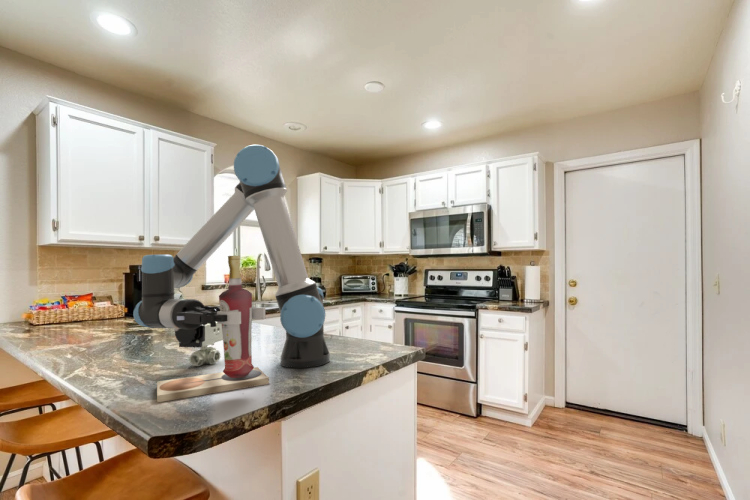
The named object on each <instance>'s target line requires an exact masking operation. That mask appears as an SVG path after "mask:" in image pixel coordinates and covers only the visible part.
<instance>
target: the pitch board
mask: <svg viewBox="0 0 750 500" xmlns="http://www.w3.org/2000/svg"><path fill="white" fill-rule="evenodd" d="M156 384H157V385H156V396H157V397H156V402H157V403H162V402H167V401H169V402H170V401H172V400H173V401H174V400H179V399H180V400H181V399H185V398H191V397H198V396H203V395H208V394H209V395H210V394H215V393H222V392H227V391H232V390H239V389H245V388H251V387H256V386H264V385H268V384H270V377H269V376H268V375H267V374H266V373H265V372H264V371H262V369H261V368H259V366H254V368H253V369H252V371H251V372H250V373H249V374H248V375H246V376H243V377H239V378H230V377H229V376H227V375H226V374H225V373H224V372H223V371H221V372H214V373H208V374H207V373H206V374H200V375H193V376H187V377H180V378H172V379H166V380H160V381H158V380H157V382H156Z"/></svg>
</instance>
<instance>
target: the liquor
mask: <svg viewBox="0 0 750 500" xmlns="http://www.w3.org/2000/svg"><path fill="white" fill-rule="evenodd" d="M227 263H228V269H229V273H228V274H229V275H228V276H229V277H228V289H226V290H223V291H222V292H221V293H220V294H219V295H218V299H219V300H218V301H219V302H218V303H219V306H220V311H230V312H241V324H221V325H222V334H223V340H222V343H223V344H222V347H223V358H224V359H223V362H224V368H223V371H222V372H224V373H225V374H226V375H227V376H229V377H230V378H239V377H243V376H246V375H248V374H249V373H250V372H251V371H252V369H253V368H254V367H255V366H254V365H253V362H252V360H253V359H252V357H253V356H252V324H253V323H252V321H253V319H252V308H253V306H252V305H253V293H252V292H251V291H249V290H248V289H245V288H244V287H243V285H242V277H241V270H240V266H241V255H228V256H227Z"/></svg>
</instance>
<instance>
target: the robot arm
mask: <svg viewBox="0 0 750 500" xmlns="http://www.w3.org/2000/svg"><path fill="white" fill-rule="evenodd" d="M280 166H281V165H280V161H279V158H278V156H277V155H276V154H275V152H274V151H273V150H271V149H270V148H268V147H267V146H265V145H262V144H251V145H247V146H245V147H243V148H242V149H240V150H239V151H238V152H237V153H236V156H235V157H234V161H233V171H234V175H235V177H236V178H237V180H239V183H238V184H236V186H235V187H234V193H233V194H232V195H230V197H229V198H228V199H227V200H226V202H225V203H224V204H222V206H221V207H220V208H219V209H218V210H217V211H216V212H215V213H214V214H213V215H212V217H210V218H209V219H208V221H206V222H205V223H204V225H203V226H201V228H200V229H199V230H198V231H197V232H196V233H195V234H194V235H193V236H192V237H191V238H190V239H189V240H188V241H187V242H186V244H184V245H183V247H182V248H181V249H180V250H179V251H178V252H177V253H176V254H175V256H173V255H172V254H146V255H143V257H142V259H141V268H140V271H141V300H140V301H139V302H138V303H137V304H136V305H135V307H134V309H133V312H132V313H133V314H132V315H133V319H134V321H135V323H137V324H138V325H139V326H141V327H143V328H144V327H146V328H150V329H173V330H174V332H175V331H178V329H190V330H192V329H196V328H198V327H199V326H200V325H206V324H207V323H210V327H216V322H217V324H241V312H230V311H220V305H219V306H211V305H204V303H203V302H202V301H200V300H199V299H193V298H191V299H190V298H189V299H188V298H187V299H186V298H175V289H180V288H183V287H185V286H188V284H190V283H191V282H192V280H193V276H194V275H195V273H196V272H197V271H198V270H199V269H200V268H201V267H202V266H203V264H204V263H205V262H206V261H207V260H208V259H210V257H211V256H212V255H213V254H214V253H215V252H217V250H218V249H219V248H220V246H222V244H223V243H224V242H226V240H227V239H229V237H230V236H231V235H232V234H233V233H234V232H235V230H237V228H239V226H240V225H242V223H243V222H244V221H245V220H246V219H247V218H248V217H249V216H250V215H251V213H252V212H255V216H256V218H257V221H258V226H259V229H260V232H261V235H262V239H263V242H264V244H265V247H266V248H265V249H266V251H267V255H268V258H269V260H270V265H271V268H272V270H273V274H274V277H275V280H276V281H275V282H276V285H277V287H278V289H277V291H276V292H275V294H274V296H275V299H276V302H277V303H276V304H277V306H278V309H279V310H278V311H279V313H280V314H279V315H280V316H279V317H280V324H281V326H282V328H283V329H284V331H285V342H284V344H283V348H282V351H281V354H280V365H281V366H283V367H284V368H285V367H286V368H294V369H301V368H302V369H304V368H305V369H307V368H314V367H315V368H316V367H319V366H323V365H326V364H328V363H330V359H331V358H330V356H331V355H330V350H329V348H328V345H327V342H326V340H325V335H324V329H325V328H324V325H325V324H324V323H325V319H326V310H325V306H324V297H325V296H324V292H323V289H322V288H320V287H318V286H317V284H316V281H315V280H312V279H310V278H309V275H308V272H307V269H306V266H305V263H304V259H303V256H302V253H301V249H300V246H299V242H298V240H297V237H296V234H295V231H294V228H293V223H292V221H291V217H290V213H289V210H288V206H287V204H286V201H285V196H286V194H287V192H288V188H287V185H286V182H285V179H284V176H283V171H282V169H281V167H280ZM252 320H267V319H266V307H252Z"/></svg>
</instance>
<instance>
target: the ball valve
mask: <svg viewBox="0 0 750 500" xmlns="http://www.w3.org/2000/svg"><path fill="white" fill-rule="evenodd" d="M174 335H175V338H176V340H177V341H178V346H179V348H200V349H199V350H195V351H193V352H192V353H191V354H190V356H189V358H188V361H189V363H190V364H191V366H194V367H200V366H202V365H214V364H216V363H218V362H219V361H220V360H221V352H220V351H219V350H217V348H216V347H212V346H214V345H215V343H218V342H221V341H223V334H222V325H221V324H217V322H216V327H210V323H207V324H206V325H200V326H199V327H198V328H196V329H192V330H190V329H178V331H175V330H174ZM210 345H211V346H210Z"/></svg>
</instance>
